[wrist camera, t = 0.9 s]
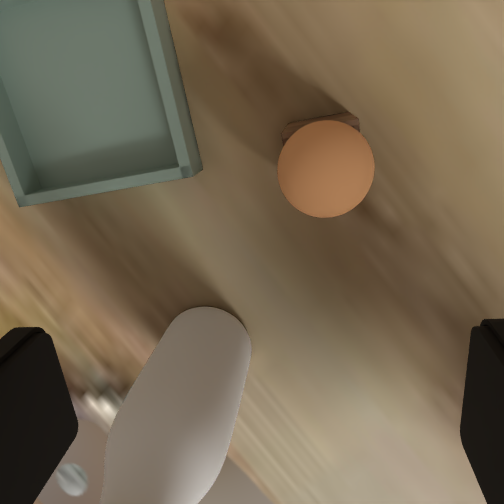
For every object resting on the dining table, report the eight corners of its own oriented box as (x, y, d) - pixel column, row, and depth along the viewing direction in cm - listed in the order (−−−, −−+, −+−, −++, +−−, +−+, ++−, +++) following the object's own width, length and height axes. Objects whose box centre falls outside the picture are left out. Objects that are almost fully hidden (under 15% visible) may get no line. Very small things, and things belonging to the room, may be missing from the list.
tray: (152, -45, 27) (136, -59, 25) (202, 169, 32) (193, 176, 30) (-29, 8, 30) (-61, 1, 28) (41, 198, 35) (19, 207, 32)
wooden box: (348, 111, 29) (358, 118, 23) (355, 171, 31) (366, 194, 24) (288, 123, 30) (281, 133, 24) (298, 181, 31) (293, 205, 25)
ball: (363, 108, 23) (375, 114, 19) (372, 197, 25) (385, 222, 20) (274, 126, 24) (264, 135, 20) (288, 209, 26) (282, 236, 21)
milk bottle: (181, 290, 36) (41, 502, 18) (265, 323, 36) (213, 569, 18) (158, 359, 39) (18, 602, 21) (236, 389, 39) (165, 659, 21)
